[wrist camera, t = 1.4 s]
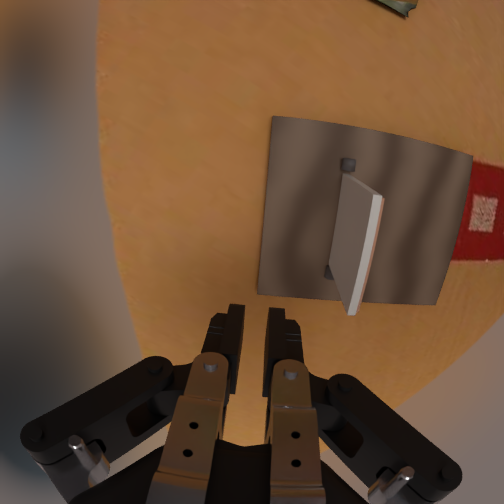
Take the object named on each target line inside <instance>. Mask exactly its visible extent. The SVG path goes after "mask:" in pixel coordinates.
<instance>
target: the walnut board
mask: <svg viewBox="0 0 504 504" xmlns="http://www.w3.org/2000/svg"><path fill="white" fill-rule="evenodd" d="M472 162H473V156H472V155H469V154H465V153H462V152H459V151H456V150H452V149H449V148H446V147H442V146H439V145H435V144H431V143H428V142H424V141H420V140H416V139H412V138H408V137H404V136H399V135H395V134H390V133H386V132H381V131H376V130H371V129H366V128H360V127H355V126H349V125H343V124H337V123H330V122H323V121H316V120H308V119H300V118H291V117H281V116H273V120H272V132H271V144H270V156H269V167H268V179H267V191H266V202H265V213H264V225H263V236H262V247H261V258H260V268H259V279H258V290H257V294H259V295H271V296H282V297H295V298H308V299H321V300H336V301H342V299H341V296H340V294H339V291H338V288H337V285H336V283H335V280H334V277H333V275H332V272H331V269H330V267H329V258H330V253H331V247H332V241H333V236H334V230H335V224H336V217H337V211H338V204H339V198H340V191H341V184H342V176H343V174H350V175H351V176H353V177H354V178H356V179H357V180H359V181H361V182H362V183H364V184H365V185H367V186H368V187H370V188H371V189H373V190H374V191H376V192H377V193H379V194H380V195H382V197H383V198H385V200H384V205H383V211H382V216H381V221H380V226H379V231H378V236H377V240H376V245H375V250H374V254H373V258H372V262H371V267H370V271H369V275H368V279H367V283H366V287H365V290H364V294H363V298H362V302H369V303H389V304H412V305H436V302H437V299H438V297H439V294H440V291H441V288H442V285H443V282H444V279H445V276H446V273H447V270H448V267H449V264H450V260H451V257H452V254H453V250H454V247H455V243H456V239H457V236H458V232H459V228H460V224H461V220H462V215H463V211H464V206H465V202H466V197H467V192H468V186H469V181H470V175H471V169H472Z"/></svg>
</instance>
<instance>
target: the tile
mask: <svg viewBox="0 0 504 504" xmlns="http://www.w3.org/2000/svg"><path fill="white" fill-rule="evenodd" d="M384 200H385V198H383V197H382V195H380V194H379V193H377V192H376V191H374V190H373V189H371V188H370V187H368V186H367V185H365V184H364V183H362V182H361V181H359V180H357V179H356V178H354V177H353V176H351V175H350V174H343V176H342V184H341V191H340V198H339V204H338V211H337V217H336V224H335V230H334V236H333V241H332V247H331V253H330V258H329V267H330V269H331V272H332V275H333V277H334V280H335V283H336V285H337V288H338V291H339V294H340V296H341V299H342V302H343V305H344V308H345V310H346V313H347V315H354V316H355V314H356V312H359V309H360V305H361V302H362V298H363V294H364V290H365V287H366V283H367V279H368V275H369V271H370V267H371V262H372V258H373V254H374V250H375V245H376V240H377V236H378V231H379V226H380V221H381V216H382V211H383V205H384Z"/></svg>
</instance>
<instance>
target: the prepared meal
mask: <svg viewBox="0 0 504 504" xmlns="http://www.w3.org/2000/svg"><path fill="white" fill-rule="evenodd" d="M376 1H378V2H380V3H382V4H384V5H386V6H388V7H390V8H392V9H394V10H396V11H397V12H399V13H401V14H403V15H405V16H406V17H408V11H410V9H411V8H416V5H417V2H418V0H376Z"/></svg>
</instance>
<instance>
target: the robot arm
mask: <svg viewBox="0 0 504 504" xmlns="http://www.w3.org/2000/svg"><path fill="white" fill-rule="evenodd" d="M244 316H245V305H239V304H230V305H229V309H228V313H227V314H224V313H217V314H216V315H215V316H214V317H212V318H211V321H210V324H209V328H208V331H207V334H206V338H205V341H204V344H203V348H202V351H201V354H199V355H198V356H196V357H195V359H194V361H193V362H192V363H189V364H186V365H176V366H173V365H172V363H171V362H170V361H169V360H168V359H167V358H164V357H161V356H151V357H148V358H145V359H143V360H142V361H140V362H138V363H137V364H135V365H133V366H131V367H130V368H128V369H126V370H124V371H123V372H121V373H119V374H117V375H115V376H114V377H112V378H110V379H108V380H107V381H105V382H103V383H101V384H99V385H98V386H96V387H94V388H92V389H90V390H89V391H87V392H85V393H83V394H81V395H80V396H78V397H76V398H74V399H72V400H70V401H68V402H67V403H65V404H63V405H61V406H59V407H57V408H55V409H53V410H52V411H50V412H48V413H46V414H44V415H42V416H40V417H38V418H36V419H34V420H32V421H31V422H29V423H27V424H26V425H25V426H24V427H23V428H22V431H21V434H20V439H21V442H22V444H23V446H24V447H25V448H26V449H27V451H28V452H29V453H30V454H31V456H32V458H33V459H34V460H35V461H36V462H37V464H38V465H39V466H40V467H41V468H42V469H43V470H44V471H45V472H46V474H47V475H48V476H49V478H50V479H51V481H52V482H53V484H54V485H55V487H56V488H57V490H58V491H59V493H60V494H61V495H62V497H63V498H64V500H65V501H66V502H67V504H369V503H368V502H366V500H364V499H363V498H362V497H361V496H360V495H359V494H358V493H357V492H356V491H355V490H353V489H352V488H351V487H350V486H349V485H348V484H347V483H346V482H345V481H344V480H343V479H341V477H339V476H338V475H337V474H336V473H335V472H334V471H333V470H332V469H331V468H330V467H329V466H328V465H327V464H326V463H324V462H323V461H322V460H320V448H319V437H320V438H321V439H322V440H323V441H324V442H325V444H326V445H327V446H328V447H329V448H330V449H331V450H332V451H333V452H334V453H335V454H336V455H337V456H338V457H339V458H340V459H341V460H342V461H343V463H345V465H346V466H347V467H348V468H349V469H350V470H351V471H352V472H353V473H354V474H355V475H356V476H357V477H358V478H359V479H360V480H361V481H362V482H363V483H364V484H365V485H366V486H367V487H368V488H369V490H368V500H369V502H370V504H437V503H438V502H439V501H441V500H442V499H443V498H444V497H446V496H447V495H448V494H449V493H451V492H452V491H453V490H454V489H456V488H457V487H458V486H459V485H460V483H461V481H462V471H461V468H460V466H459V465H458V464H457V463H456V462H454V461H453V460H452V459H451V458H450V457H449V456H447V455H446V454H445V453H444V452H442V451H441V450H440V449H439V448H438V447H436V446H435V445H434V444H433V443H432V442H430V441H429V440H428V439H427V438H426V437H424V436H423V435H422V434H421V433H420V432H418V431H417V430H416V429H415V428H414V427H412V426H411V425H410V424H409V423H408V422H407V421H405V420H404V419H403V418H402V417H401V416H399V415H398V414H397V413H396V412H395V411H394V410H392V409H391V408H390V407H389V406H388V405H387V404H385V403H384V402H383V401H382V400H381V399H380V398H378V397H377V396H376V395H375V394H374V393H373V392H371V391H370V390H369V389H368V388H367V387H366V386H365V385H363V384H362V383H361V382H360V381H359V380H358V379H356V378H355V377H353V376H351V375H348V374H336V375H334V376H332V377H331V378H330V379H329V380H327V379H323V378H320V377H317V376H314V375H313V374H311V373H310V372H309V371H308V369H307V367H306V366H305V365H304V358H303V348H302V342H301V341H302V339H301V331H300V326H299V325H298V323H297V322H296V321H295V320H289V319H285V309H283V308H271V307H269V312H268V320H267V328H266V337H265V351H264V372H263V392H262V397H268V401H267V409H266V420H265V436H264V444H262V445H254V446H245V447H244V446H239V445H236V444H233V443H230V442H227V441H224V440H223V433H224V426H225V418H226V411H227V404H228V401H229V396H230V394H235V391H236V384H237V377H238V369H239V362H240V355H241V348H242V340H243V329H244ZM170 422H171V425H170V428H169V432H168V436H167V439H166V442H165V445H163V446H161V447H159V448H157V449H155V450H154V451H152V452H150V453H149V454H147V455H146V456H144V457H143V458H141V459H139V460H138V461H136V462H135V463H133V464H131V465H130V466H128V467H126V468H125V469H123V470H121V471H120V472H118V473H117V474H115V475H113V476H111V477H109V478H108V479H106V480H105V478H106V477H107V476H108V474H109V471H110V463H111V462H113V461H114V460H116V459H118V458H119V457H121V456H122V455H124V454H125V453H127V452H128V451H130V450H131V449H133V448H134V447H136V446H137V445H139V444H140V443H141V442H143V441H144V440H146V439H147V438H149V437H150V436H152V435H153V434H154V433H156V432H157V431H159V430H160V429H161V428H163V427H164V426H166V425H167V424H168V423H170Z"/></svg>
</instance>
